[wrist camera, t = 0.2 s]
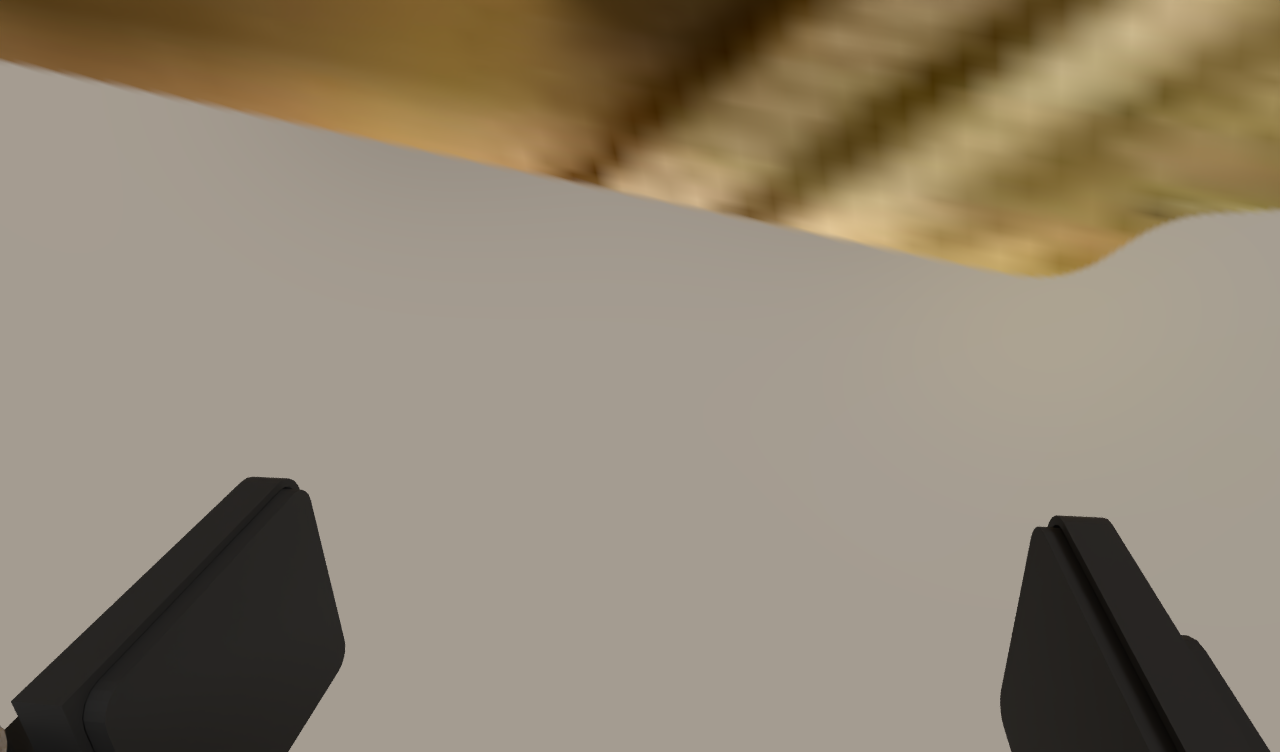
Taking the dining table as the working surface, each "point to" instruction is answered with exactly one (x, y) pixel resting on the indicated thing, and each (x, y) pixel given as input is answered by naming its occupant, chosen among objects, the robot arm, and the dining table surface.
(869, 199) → the dining table surface
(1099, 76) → the dining table surface
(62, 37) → the dining table surface
